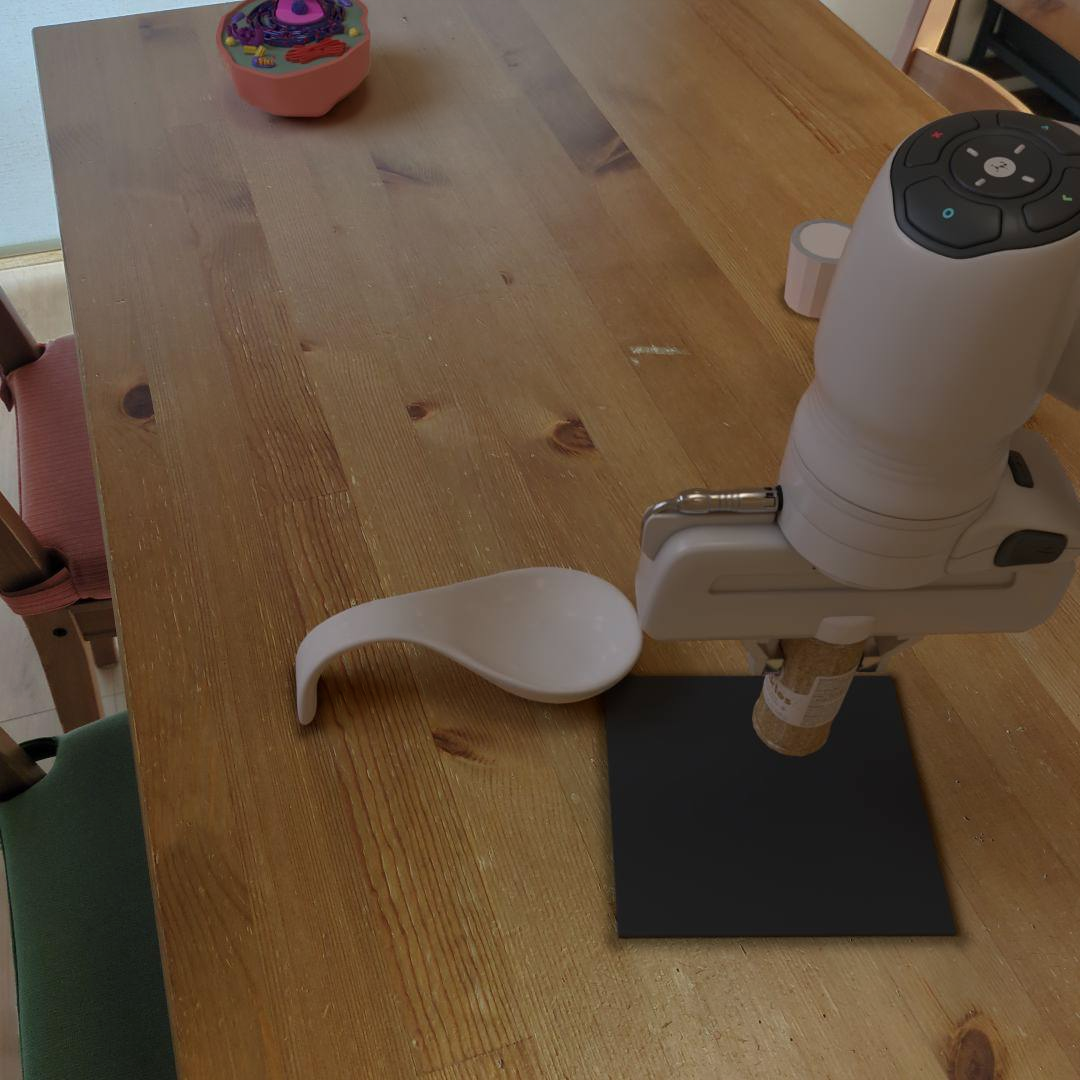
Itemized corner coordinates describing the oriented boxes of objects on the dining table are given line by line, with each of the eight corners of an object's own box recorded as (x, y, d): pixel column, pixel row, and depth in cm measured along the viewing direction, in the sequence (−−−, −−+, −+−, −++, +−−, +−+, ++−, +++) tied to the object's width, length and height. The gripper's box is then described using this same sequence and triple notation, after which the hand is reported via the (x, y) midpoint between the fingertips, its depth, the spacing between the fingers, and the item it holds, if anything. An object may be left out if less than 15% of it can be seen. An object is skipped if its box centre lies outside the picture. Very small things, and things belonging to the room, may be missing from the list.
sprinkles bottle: (739, 701, 66) (780, 559, 55) (809, 684, 67) (863, 540, 56) (770, 769, 63) (820, 632, 53) (843, 749, 64) (906, 610, 53)
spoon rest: (617, 590, 82) (620, 518, 78) (661, 714, 74) (668, 642, 69) (295, 642, 79) (277, 571, 74) (303, 778, 71) (283, 708, 66)
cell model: (199, 136, 121) (175, 33, 113) (267, 50, 134) (250, -48, 125) (347, 157, 119) (334, 53, 110) (402, 68, 132) (394, -31, 123)
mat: (888, 681, 78) (891, 675, 77) (953, 938, 66) (957, 933, 65) (602, 682, 77) (603, 675, 77) (617, 941, 66) (618, 936, 65)
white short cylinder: (842, 280, 107) (859, 217, 102) (857, 326, 102) (876, 262, 97) (771, 280, 107) (785, 217, 101) (783, 326, 102) (798, 263, 97)
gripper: (653, 549, 47) (627, 719, 57) (1130, 538, 47) (1017, 708, 58) (638, 441, 51) (616, 619, 61) (1078, 434, 51) (981, 610, 62)
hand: (814, 663), depth 60 cm, fingers closed on sprinkles bottle, 4 cm apart
